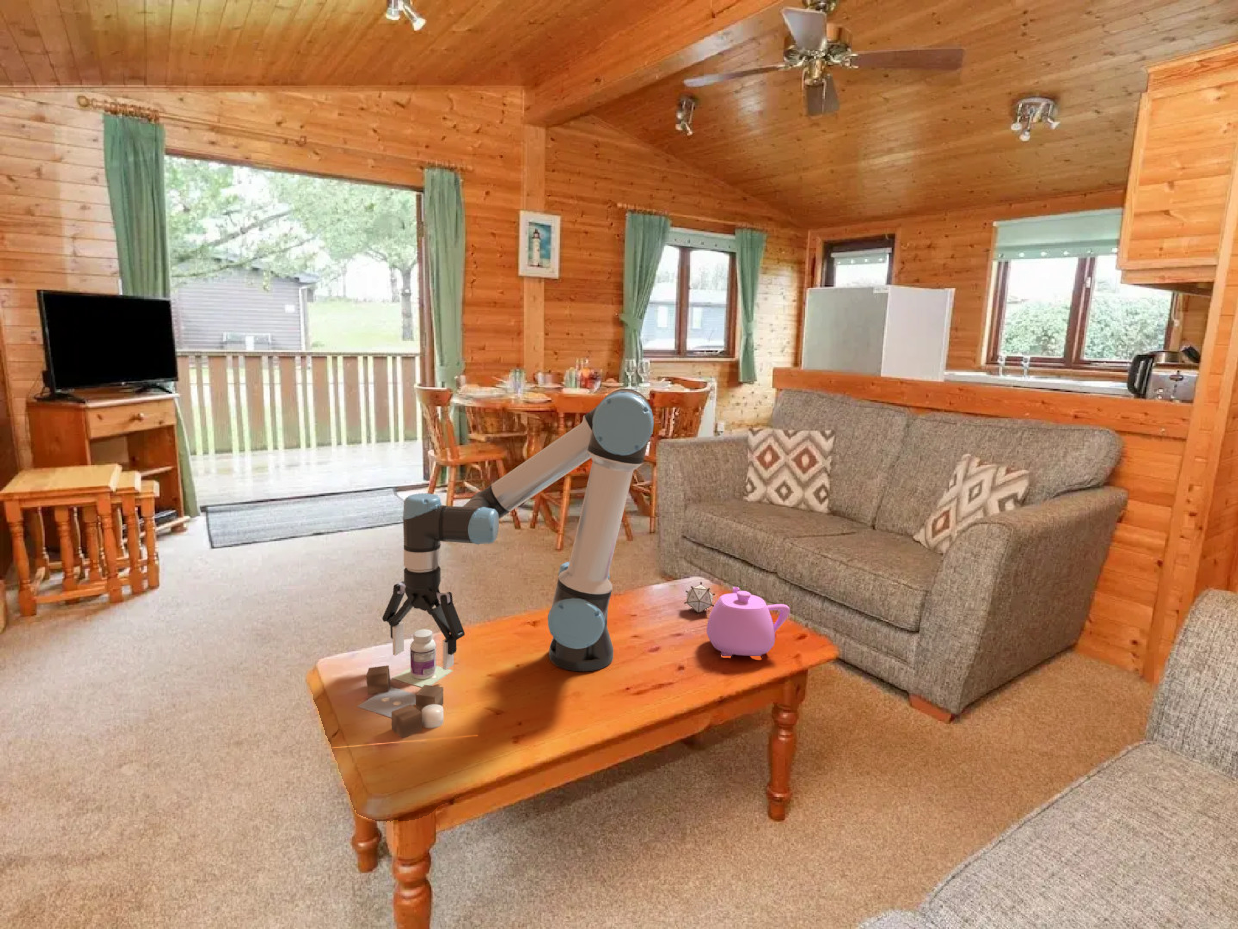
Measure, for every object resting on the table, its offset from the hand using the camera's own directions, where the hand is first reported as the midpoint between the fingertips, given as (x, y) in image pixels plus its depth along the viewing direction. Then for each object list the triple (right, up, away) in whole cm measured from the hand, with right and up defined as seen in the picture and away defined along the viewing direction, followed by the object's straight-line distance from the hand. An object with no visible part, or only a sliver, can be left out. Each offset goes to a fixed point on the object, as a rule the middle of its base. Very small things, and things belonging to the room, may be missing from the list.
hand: (422, 660), depth 150 cm
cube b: (+1, -5, -19) cm, 20 cm away
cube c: (-7, -4, -6) cm, 10 cm away
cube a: (+5, -6, -12) cm, 15 cm away
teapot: (+74, -3, +22) cm, 77 cm away
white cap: (+7, -7, -17) cm, 20 cm away
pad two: (-3, -6, -11) cm, 13 cm away
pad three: (0, -4, +1) cm, 4 cm away
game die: (+65, +1, +44) cm, 78 cm away
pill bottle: (0, -3, +1) cm, 4 cm away
